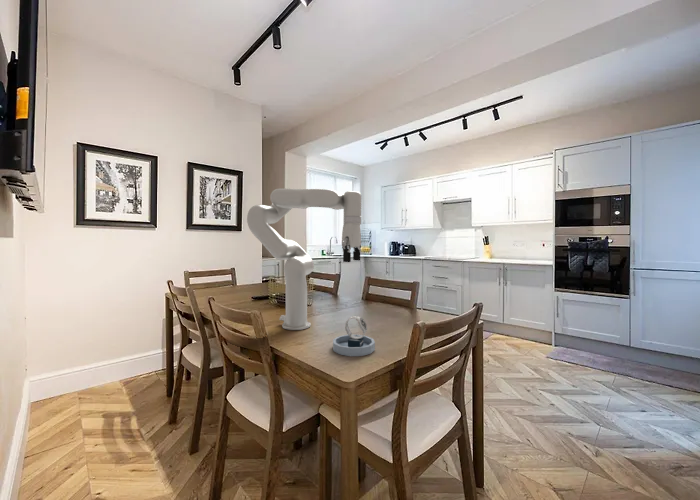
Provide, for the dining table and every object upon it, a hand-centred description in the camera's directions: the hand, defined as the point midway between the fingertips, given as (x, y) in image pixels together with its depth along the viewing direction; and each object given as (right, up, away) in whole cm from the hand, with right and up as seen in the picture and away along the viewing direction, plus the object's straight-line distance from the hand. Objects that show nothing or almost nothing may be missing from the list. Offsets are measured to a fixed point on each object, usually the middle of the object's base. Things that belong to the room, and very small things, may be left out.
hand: (351, 261), depth 139 cm
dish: (+1, -31, -20) cm, 37 cm away
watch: (+1, -31, -20) cm, 37 cm away
